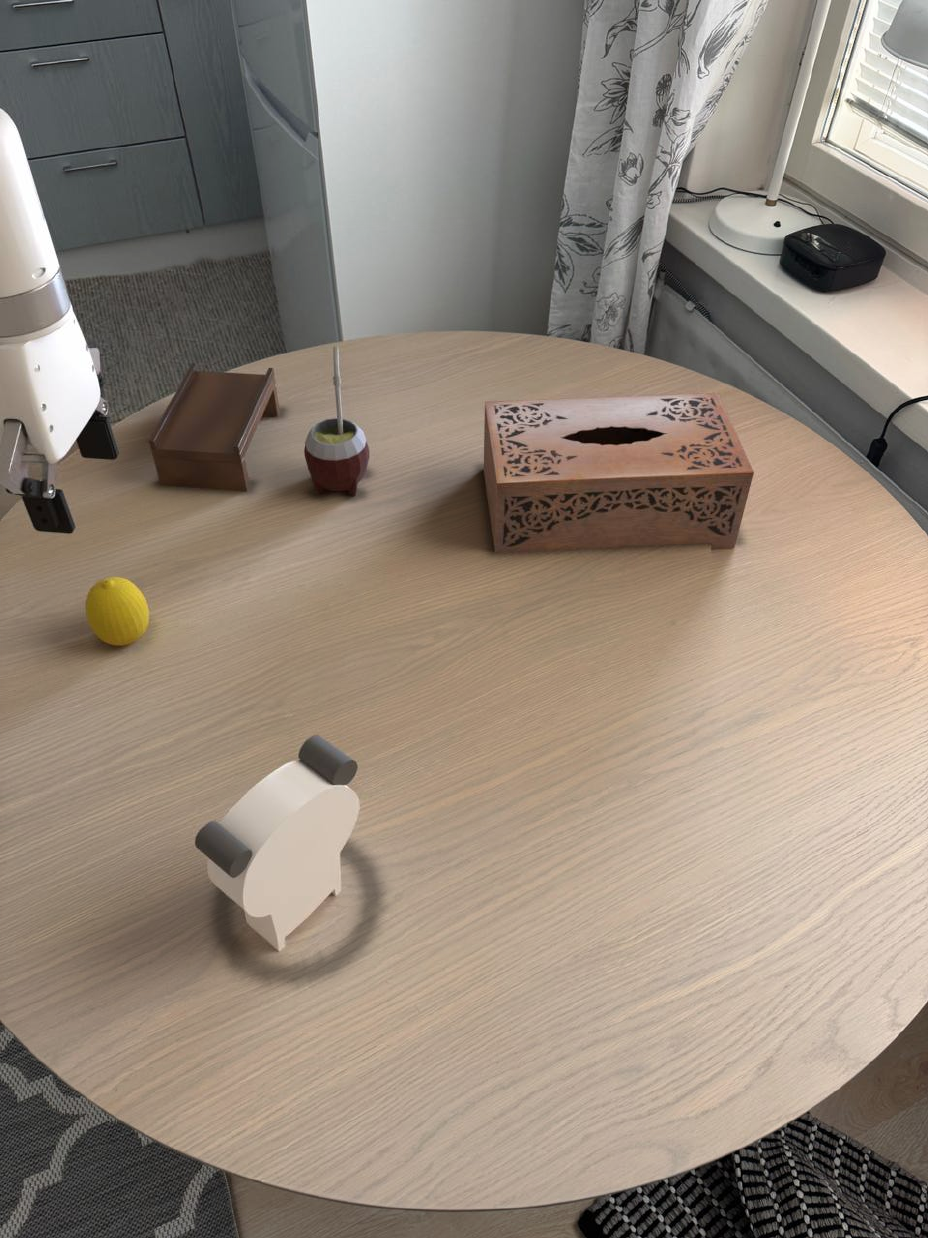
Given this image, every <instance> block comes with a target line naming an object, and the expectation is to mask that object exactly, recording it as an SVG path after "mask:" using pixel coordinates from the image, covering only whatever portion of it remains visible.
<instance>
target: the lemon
mask: <svg viewBox="0 0 928 1238" xmlns="http://www.w3.org/2000/svg"><path fill="white" fill-rule="evenodd" d="M85 616H86V621H87V623H88V625H89V627H90V629H91V630H92V633H94V635H95V636H96V637H97V638H98V639H100V641H102V642H104V643H106V644H109V645H112V646H115V647H116V646H117V647H118V646H128V645H131V644H133V643H135V642H137V641H138V640H139V639H140V638H141V637H142V636H143V635H144V633H145V632H146V630H147V628H148V626H149V621H150V610H149V605H148V603H147V600H146V598H145V595H144V594H143V592H142V591H141V590H140V588H139V587H137V585H136V584H135V583H134V582H132V581H130V580H129V579H126V578H123V577H119V576H111V577H105V578H103V579H100V580H99V581H97V582H96V583H94V584H93V586H91V588H90V589H89V591H88V592H87V595H86V598H85Z"/></svg>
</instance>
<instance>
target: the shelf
mask: <svg viewBox="0 0 928 1238" xmlns="http://www.w3.org/2000/svg"><path fill="white" fill-rule="evenodd" d="M274 370H275V369H274V368H273V367H268V368H267V370H266V372H265V374H260V373H243V372H242V373H241V372H223V371H205V370H198V365H197V363H195V362H194V363H193V362H192V363H191V364H190V366H189V367H188V370H187V371H186V373H185V374H184V377H183V379H182V380H181V382H180V384H179V386H178V388H177V389H176V390H175V393H174V395H173V396H172V398H171V400H170V402H169V403H168V405H167V407H166V409H165V410H164V412H163V414H162V416H161V418H160V420H159V421H158V424H157V425H156V427H155V428H154V431H153V432H152V434H151V436H150V438H149V440H148V443H149V447H150V452H151V455H152V458H153V462H154V466H155V469H156V473H157V477H158V480H159V485H160V487H161V486H162V487H176V488H190V489H192V488H193V489H208V490H223V491H236V492H248V489H249V488H250V481H249V475H248V469H247V464H246V461H245V460H246V459H245V457H246V454H247V451H248V449H249V447H250V444H251V442H252V440H253V438H254V435H255V433H256V430H257V428H258V427H259V423H260V421H261V419H262V417H277V418H278V417H279V416H280V413H281V409H280V403H279V396H278V389H277V381H276V376H275V371H274Z"/></svg>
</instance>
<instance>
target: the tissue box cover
mask: <svg viewBox="0 0 928 1238" xmlns="http://www.w3.org/2000/svg"><path fill="white" fill-rule="evenodd" d="M483 423H484V426H483V428H484V430H483V432H484V433H483V476H484V481H485V483H484V484H485V489H486V496H487V504H488V511H489V512H488V513H489V518H490V526H491V534H492V540H493V541H492V542H493V547H494V553H511V552H512V553H513V552H532V551H533V552H534V551H553V550H557V551H558V550H575V549H576V550H577V549H597V548H598V549H600V548H601V549H602V548H620V547H623V548H624V547H641V546H642V547H643V546H644V547H645V546H660V545H661V546H665V545H684V544H685V545H689V544H710V549H711V550H716V549H718V550H719V549H735V547H736V543H737V540H738V536H739V532H740V528H741V525H742V521H743V518H744V517H743V516H744V513H745V508H746V506H747V503H748V502H747V501H748V497H749V493H750V490H751V486H752V482H753V478H754V475H755V472H754V469H753V467H752V464H751V463H750V460H749V458H748V456H747V454H746V451H745V449H744V446H743V445H742V442H741V440H740V438H739V436H738V434H737V432H736V429H735V427H734V425H733V422H732V420H731V419H730V416H729V413H728V412H727V409H726V407H725V405H724V402H723V400H722V397H721V396H720V393H719V392H709V393H708V392H703V393H702V392H701V393H684V394H683V393H679V394H678V393H677V394H676V393H675V394H653V395H652V394H650V395H626V396H598V397H597V396H596V397H574V398H573V397H571V398H569V397H568V398H546V399H542V398H541V399H520V400H519V399H517V400H493V401H491V400H490V401H484V422H483Z"/></svg>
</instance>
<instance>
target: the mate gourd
mask: <svg viewBox="0 0 928 1238" xmlns="http://www.w3.org/2000/svg"><path fill="white" fill-rule="evenodd" d="M339 350H340V349H339V346H337V345H335V346H333V354H332V355H333V376H332V381H333V386H334V393H335V405H336V417H333V418H327V419H323V420H321V421H319V422H317V423H315V425H313V426H312V427H311V429H310V430H309V432H308V433H307V436H306V439H305V441H304V449H303V451H304V454H303V455H304V458H305V463H306V466H307V470H308V472H309V474H310V476H311V481H312V483H313V486H314V488H315V490H316V492H317V494H318V495H322V494H324V493H327V492H329V491H332V492H346V493H347V494H349V495H350V496H352V497H356V495H357V491H358V484H359V483H360V482H361V481H362V479H363V478H364V477H365V474H366V472H367V468H368V464H369V461H370V447H369V444H368V442H367V437H366V435H365V432H364V431H363V430H362V428H360V427H359V426H358V425H357V424H356V423H355V422H354V421H352V420H348V419H346V418H343V408H342V395H341V394H342V392H341V386H342V377H341V376H340V357H339V356H340V355H339V353H340V351H339Z"/></svg>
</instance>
